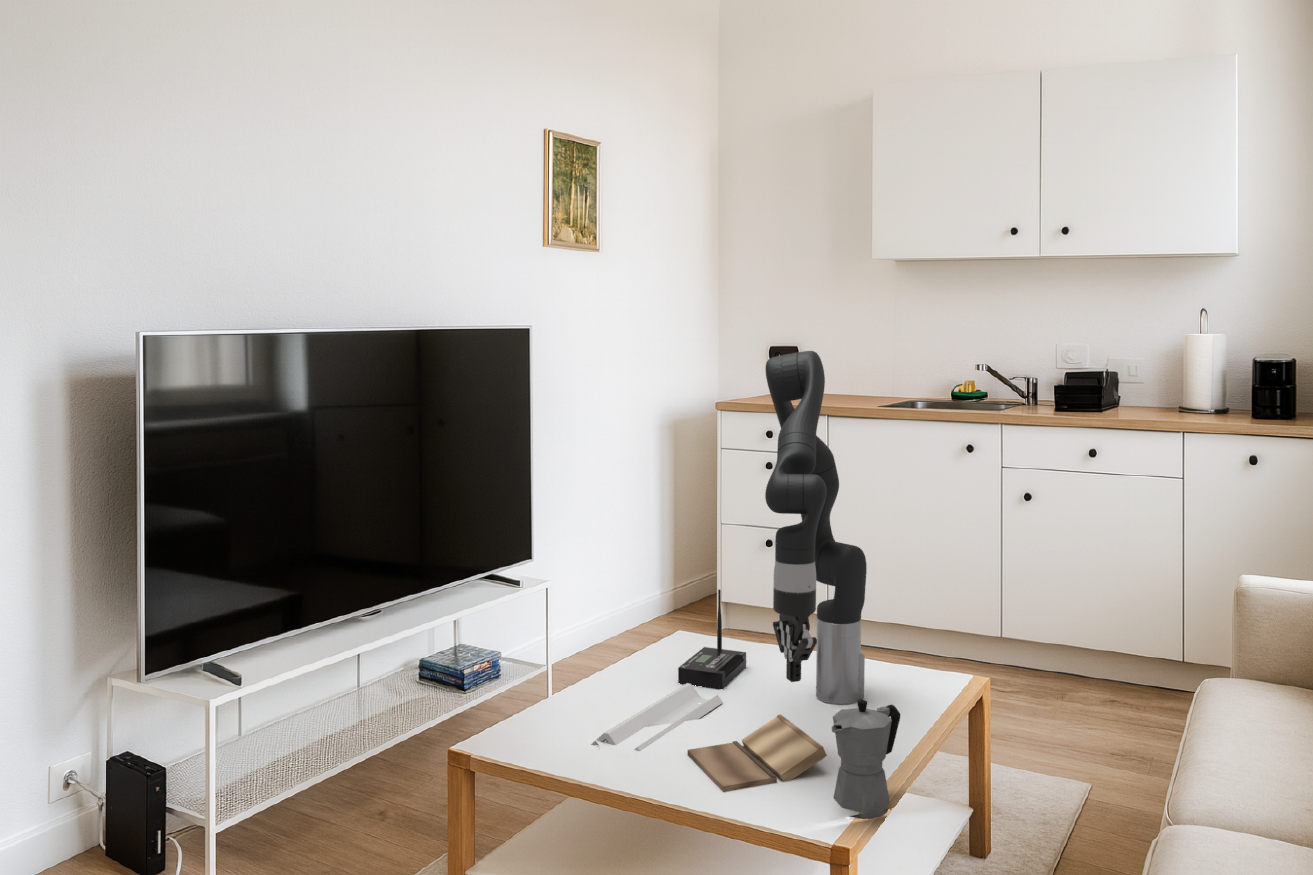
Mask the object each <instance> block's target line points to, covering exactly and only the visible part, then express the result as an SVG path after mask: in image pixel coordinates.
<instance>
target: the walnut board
mask: <svg viewBox="0 0 1313 875" xmlns="http://www.w3.org/2000/svg"><path fill="white" fill-rule="evenodd" d="M687 756H688V757H689V758H690V759H691V760H692V761H693V762H694V763H695V764H696V765H697V766H698V767H699V768H700V769H701V771H702V772H703V773H704V774H705V775H706V776H707V777H708V778H709V779H710V780H711V781H712V782H713V783H714V784H715V785H716V786H717V787H718V788H719V789H720V790H721V791H722V792H723V793H725V792H730V791H736V790H741V789H745V788H753V787H757V786H758V787H759V786H763V785H768V784H774V783H775V784H776V783H777V782H778V781H777V780H778V778H777V777H778V776H777V775H776V774H775V773H774V772H773V771H772V770H770V769H769V768H768V767H767V766H766V765H765V764H764V763H763V762H762V761H760V760H759V759H758V758H757V757H756V756H755V755H754V754H753V753H752V752H750V751H749V750H748V749H747V748H746V747H745V746H744V745H743V744H741V743H740V742H738V741H737V740H734V741H733V740H732V742H729V743H722V744H715V745H709V746H703V747H696V748H690V749H687Z"/></svg>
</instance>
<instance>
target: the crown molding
mask: <svg viewBox="0 0 1313 875" xmlns="http://www.w3.org/2000/svg"><path fill="white" fill-rule="evenodd" d="M698 703H701V704H698ZM723 703H724V701H723V700H722V699H721V697H720V696H719V695H718V694H716V695H715V696H713V697H712V698H710V699H706V698H703V697H702V696H701V695H700V694H699V693H698V692H697V690H696V689H695V688H694V686H692V685H691V684H689V683H686V684H685V685H684V684H682V686H680V687H679V688H676V689H674V690H673V691H671V692H670V693H668V694H666V695H665V696H663V697H661V698H660V699H658V700H656V701H655V702H653V703H651V704H650V705H648V706H647V707H645V708H643V709H642V710H640V711H638V712H637V713H635V714H633V715H631V716H630V717H628V718H626V719H624V720H623V721H621V722H619V723H618V724H616V725H615V726H613V727H611V728H609V729H608V730H606V731H605V732H603V733H602V734H601V735H600V736H599V737H597V739H596V740H594V741H593V742H591V744H590V745H592V746H595V745H598V746H599V742H603V743H606V744H608V745H609V744H610V745H613V746H618V745H619V744H621V743H622V742H624V741H625V740H627V739H629V738H630V737H631V736H633V735H635V734H636V733H638V732H640V731H641V730H643V729H644V728H649V727H655V726H663V725H668V724H670V725H668V726H667V727H666V728H664V729H663V730H661V731H659V732H658V733H656V734H655V735H653V736H652V737H650V738H649V739H648V740H646V741H644V742H642V743H641V744H639V745H638V746H637V747H635V748H634V751H637V752H638V751H639V752H641V751H643V750H644V749H646V748H648V747H649V746H650V745H652V744H653V743H655V742H657V741H658V740H659V739H661V738H662V737H664V736H666V734H667V735H668V733H670V732H672V731H674V730H675V729H676V728H677V727H679V726H680V725H682V724H683V723H685V722H688V721H696V720H699V719H700V718H702V717H703V716H705V715H707V714H708V713H710V712H711V711H713V710H715V709H716V708H718V707H719V706H721V705H722V704H723Z"/></svg>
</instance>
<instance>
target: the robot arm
mask: <svg viewBox="0 0 1313 875" xmlns="http://www.w3.org/2000/svg"><path fill="white" fill-rule="evenodd" d="M764 368H765V378H766V384H767V387H768V391H769V394H770V396H771V397H770V398H771V400H772V404H773V407H774V410H775V413H776V416H777V417H776V418H777V420H778V423H779V427H780V430H779V433H778V438H777V451H776V452H777V453H776V454H777V457H776V462H775V466H774V469H773V471H772V473H771V475H770V477H769V479H768V481H767V484H766V489H765V494H764V498H765V503H766V505H767V506H768V508H769V509H770V511H771V512H772V513H773V512H774V513H776V514H783V515H785V514H787V515H789V514H790V515H800V518H801V521H800V522H799V523H796V524H792V525H785V526H782V527H780V528H778V529H777V530H776V533H775V539H774V540H775V542H774V543H775V546H774V548H775V549H774V550H775V551H774V552H775V554H774V555H775V557H774V559H775V560H774V567H773V568H774V569H773V589H772V590H773V591H772V592H773V594H772V595H773V597H772V598H773V599H772V601H773V602H772V603H773V604H772V605H773V606H772V608H773V611H774V612H775V613H777V614H779V616H778V617H779V619H778V620H777V621H773V622H772V627H773V630H774V634H775V637H776V642H777V645H778V647H779V652H780V653H781V654H783V655H784V659H786V671H785V673H786V674H785V675H786V676H785V677H786V679H787V680H788V681H789V682H791V683H795V682H796V683H797V682H800V681H801V680H802V662H803V661H809V658H810V657H811V654H812V653H813V651H814V649H815V647H816V670H815V671H816V676H815V677H816V681H815V684H816V685H815V689H816V690H815V692H816V694H815V696H816V698H817V699H818V700H820V701H822V702H824V703H829V704H834V705H849V704H853V703H856V702H857V701H858V700H864V699H865V670H866V669H865V663H866V660H865V659H866V658H865V654H864V653H862V651H861V650H862V613H863V608H864V604H865V600H866V584H867V567H868V566H867V558H866V555H865V552H864V551H863V549H862V548H861V547H859V546H856V545H853V544H849V543H843V542H838V541H836V540H835V538H834V535H833V531H832V527H831V512H832V509H833V507H834V505H835V503H836V499H837V497H838V494H839V489H840V479H839V475H838V469H837V466H836V460H835V456H834V455H833V454H834V453H833V452H832V451H831V449H830V448H829V446H828V445H827V444H826V443H825V441H823V440H822V439H821V438H820V437H819V436H818V435H817V429H818V423H819V419H820V415H821V410H822V404H823V399H824V393H825V383H826V381H825V380H826V377H825V369H824V365H823V361H822V359H821V357H820V355H819V354H818V353H817V352H816V351H815V350H804V351H803V350H802V351H798V352H792V353H787V354H782V355H778V356H777V355H776V356H772V357H770V358H768V359H767V361H766V363H765V367H764ZM797 400H800V401H799V403H798V404H797V405H796V407H794V404H793V403H792V401H797ZM817 582H819V583H821V584H823V585H827V586H832V587H834V592H833V593H834V594H833V598H832V599H826V600H823V601H820V602H819V603H818V604H817ZM815 612H816V636H813V637H812V635H811V634H810V629H811V625H810V619H809V617H810V616H811V615H813V614H815Z"/></svg>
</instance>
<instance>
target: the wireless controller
mask: <svg viewBox="0 0 1313 875" xmlns="http://www.w3.org/2000/svg"><path fill="white" fill-rule="evenodd" d="M721 591H722V590H721V589H718V592H717V594H718V595H717V604H718V605H717V618H716V619H717V620H716V624H717V625H716V643H717V645H716V648H715V647H707V646H703V647H702V648H701V649H700V650H699V651H698V652H696V653H695V654H693V655H692V656H691V657H690V658H688V659H686V661H685V662H684V663H682V664H681V665H680V666H679V667H678V668H677V672H678V674H677V675H678V677H677V678H678V680H677V681H678V682H677V683H681V684H680V685H684V684H686V683H689V684H691V685H694V686H693V687H698V686H702V687H701V688H705V687H706V689H711V690H712V689H713V690H719V689H723V690H724V689H726V687H728V685H730V684H731V683H732V681H734V679H736V678H737V677H738V676H739V675H740V674H741V673H742V672H743V671H744V670H745V669H747V652H746V651H738V650H732V649H723V629H722V628H723V622H722V607H721V605H722V604H721V601H722V600H721V594H722V592H721ZM695 685H696V686H695Z"/></svg>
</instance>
